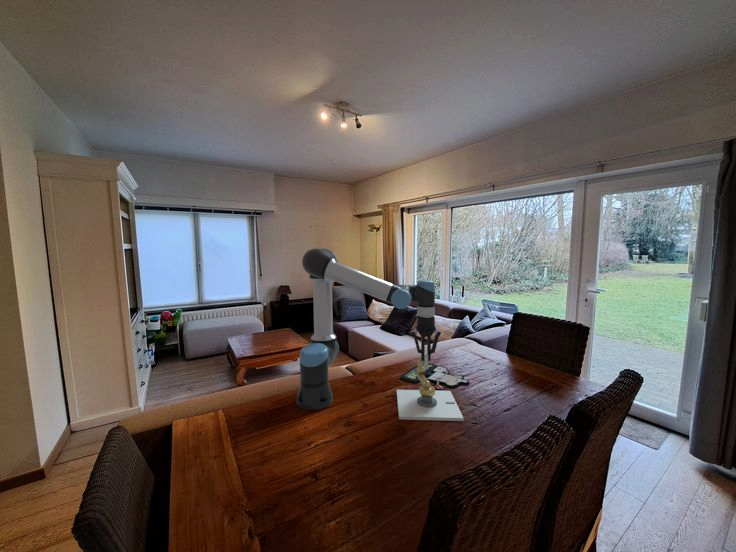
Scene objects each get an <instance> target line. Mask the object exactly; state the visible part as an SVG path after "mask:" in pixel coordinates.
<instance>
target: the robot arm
mask: <svg viewBox="0 0 736 552" xmlns="http://www.w3.org/2000/svg"><path fill="white" fill-rule="evenodd" d="M301 265H302V268H303V270H304V271H305V272H306V273H307V274H308V275H309V280H310V281H311V282H312V286H313V287H312V289H313V290H312V291H313V295H312V297H313V331H314V332H313V335H312V336H311V337H310V343H309V344H306V345H304V346H303V347H302V348H301V350H300V352H299V358H298V359H299V375H300V376H299V377H300V380H299V381H300V385H299V389H298V392H297V395H296V406H297V407H298V408H299V409H302V410H305V411H319V410H322V409H325V408H327V407H328V406H330V405H332V403H333V401H334V400H333V399H334V398H333V397H334V396H333V392H332V389H331V386H330V383H329V368H330V367H331V366H332V363H334V361H336V359H337V358H338V354H339V351H340V346H339V343H338V341H337V335H336V334H335V333H334V321H333V320H334V319H333V318H334V317H333V316H334V315H333V282H336V283H339V284H341V285H343V286H346V287H349V288H351V289H353V290H356V291H359V292H362V293H364V294H367V295H369V296H371V297H374V298H376V299H378V300H381V301H384V302H386V303H389V304H391V305H392V306H394V308H396V309H399V310H403V309H405V308H407V307H409V306H410V304H411V303H417V305H416V308H417V310H416V311H417V313H416V314H417V316H416V317H417V320H416V321H417V322H416V323H417V324H416V327H415V329H413V330H411V332H410V333H411V335H412V336H413V340H414V343H415V347H416V350H417V353H418V354H421V356H420V359H422V360H423V362H424V369H428V363H429V362H431V360H432V359H431V357H432V355H431V354H435V353H436V349H437V346H438V342H439V337H440V336H441V334H442V333H441V332H442V331H440V330H438V329H437V328H436V325H435V323H436V317H435V315H436V314H435V313H436V311H435V310H436V305H435V304H436V303H435V301H436V290H435V289H436V285H435V281H433V280H429V279H420V280H418V281H417V282H416V284H412V285H411V284H393V283H391V282H388V281H386V280H383V279H381V278H379V277H375V276H374V275H370V274H368V273H365V272H363V271H360V270H359V269H358V270H357V269H355V268H353V267H351V266H347V265H345V264H342V263H340V262H338V258H337V256H336V254H335V253H334V252H333V251H332V250H329V249H327V248H311V249H308V250H307V251H306V252H305V253H304V254H303V256H302V259H301ZM418 334H419V336H420V338H421V340H420V343H419V341H418V339H419V338H418V336H417V335H418ZM433 334H434V337H433V341H432V340H431V339H432V336H433ZM425 339H426V340H425ZM425 341H426V343H425ZM431 343H432V344H431ZM419 344H420V345H419ZM425 344H426V346H425ZM420 347H421V348H420ZM425 347H426V350H425Z"/></svg>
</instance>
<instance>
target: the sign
mask: <svg viewBox="0 0 736 552" xmlns="http://www.w3.org/2000/svg"><path fill="white" fill-rule="evenodd" d="M423 375H424V376H425V377H426V378H427V379H428V381H430V383H432V384H433V385H432V386H433V387H434V388H435V390H436V391H448V389H457V388H458V387H460V386H469V385H470V380H468V379H465V377H464V376H463V375H461V374H450V371H449V369H448V367H443V366H441V365H437V364H434V363H429V362H428V369H424V361H423ZM399 379H400V381H403V382H407V383H410V384H414V385H415V384H416V385H417V384H419V383H421V382H420V380H419V379H418V378H417V364H416V365H414V366H413V367H411V368H410V369H409V370H407V371H405V372H403V373H402V374H401V375H399ZM446 388H448V389H446Z"/></svg>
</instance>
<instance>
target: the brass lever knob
mask: <svg viewBox="0 0 736 552" xmlns="http://www.w3.org/2000/svg"><path fill="white" fill-rule="evenodd" d="M423 362H424V361H423V360H422V359H421V358H420V359H419V358H418V359H417V363H416V365H417V378H418V379H419V380H420V382H419V383H421V385H420V386H419V387H418V390H419V393H420V394H421V395H423V396H427V397H430V396H434V395H435V388H434V387H433V386H434V385H431V382H430V381H428V379H427V377H425V376H424V375H423Z"/></svg>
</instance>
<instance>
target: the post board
mask: <svg viewBox="0 0 736 552" xmlns="http://www.w3.org/2000/svg"><path fill="white" fill-rule="evenodd" d="M396 399H397V412H398V420H410V421H413V420H415V421H444V422H445V421H447V422H448V421H449V422H464V420H465V419H464V416H463V414H462V412H461V410H460V408H459V406H458V403H457V402H456V399H455V397H454V395H453V393H452V392H451V390H447V391H436V390H435V395H434V396H430V397H427V396H423V395H421V394H420V393H419V389H396Z"/></svg>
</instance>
